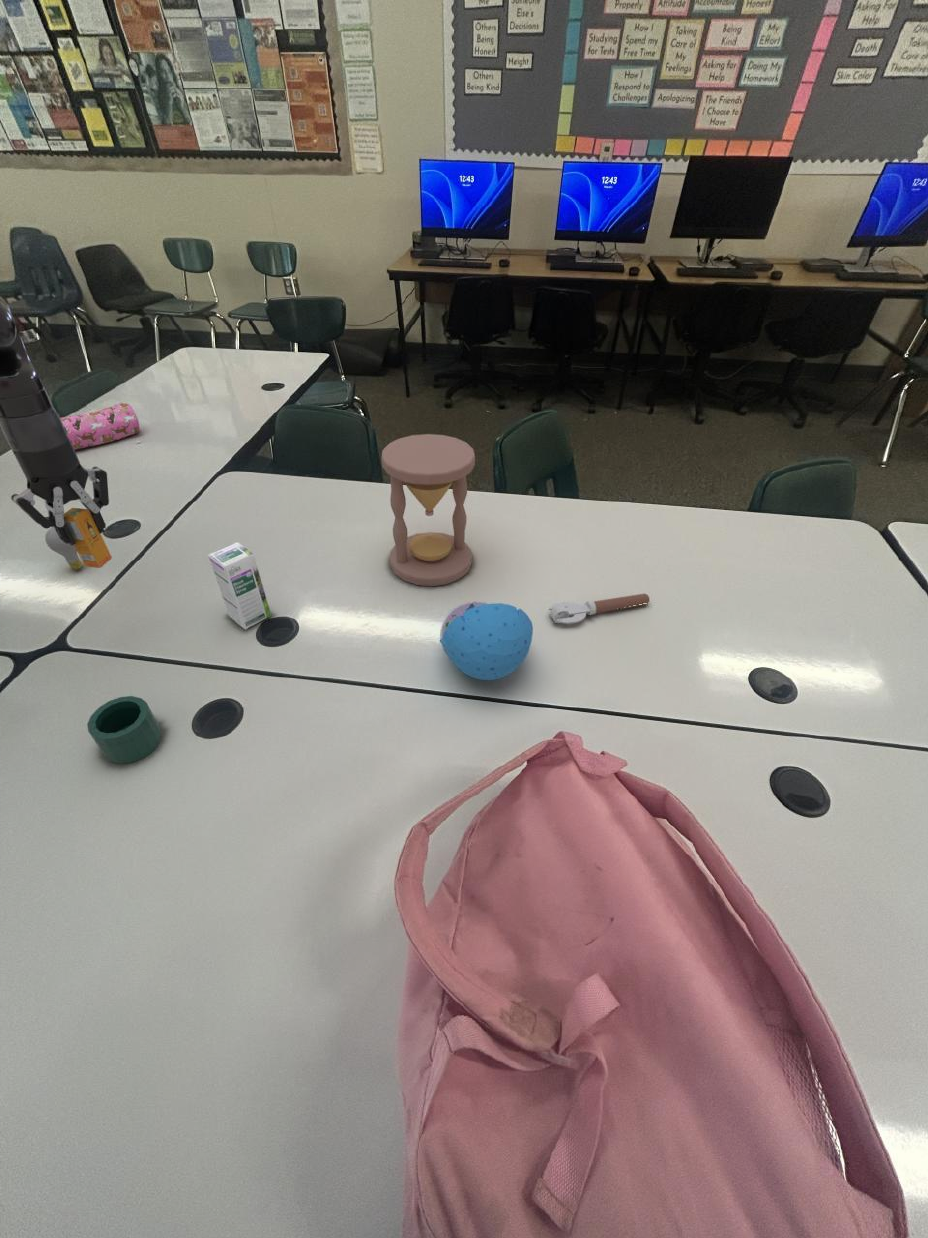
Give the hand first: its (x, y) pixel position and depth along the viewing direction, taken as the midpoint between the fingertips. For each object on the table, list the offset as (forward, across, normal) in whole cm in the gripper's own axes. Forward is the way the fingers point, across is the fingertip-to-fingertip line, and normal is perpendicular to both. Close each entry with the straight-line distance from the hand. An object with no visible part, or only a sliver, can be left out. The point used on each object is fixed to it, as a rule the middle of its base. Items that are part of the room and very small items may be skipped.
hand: (85, 536), depth 95 cm
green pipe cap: (+18, +15, +29) cm, 37 cm away
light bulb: (+18, -2, -22) cm, 28 cm away
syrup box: (+17, -14, +19) cm, 30 cm away
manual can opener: (+17, -56, +71) cm, 92 cm away
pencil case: (+18, -38, -80) cm, 90 cm away
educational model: (+17, -31, +61) cm, 71 cm away
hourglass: (+17, -49, +35) cm, 63 cm away
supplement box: (+5, 0, 0) cm, 5 cm away
